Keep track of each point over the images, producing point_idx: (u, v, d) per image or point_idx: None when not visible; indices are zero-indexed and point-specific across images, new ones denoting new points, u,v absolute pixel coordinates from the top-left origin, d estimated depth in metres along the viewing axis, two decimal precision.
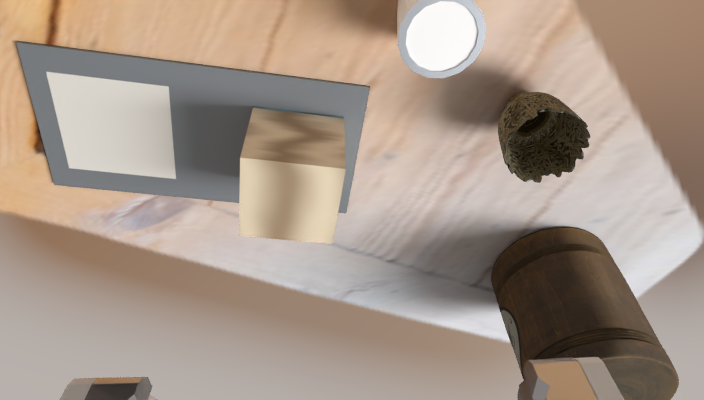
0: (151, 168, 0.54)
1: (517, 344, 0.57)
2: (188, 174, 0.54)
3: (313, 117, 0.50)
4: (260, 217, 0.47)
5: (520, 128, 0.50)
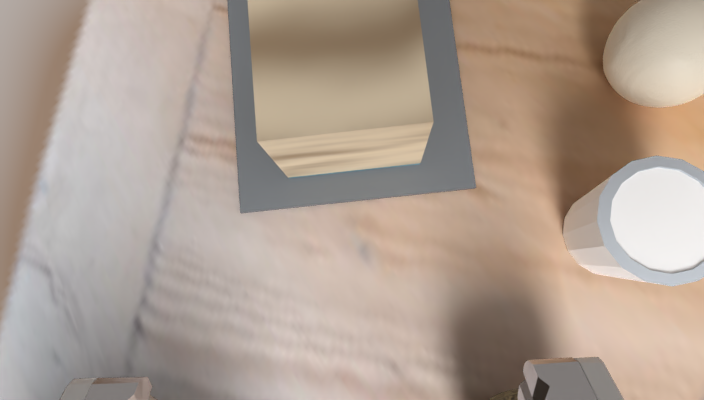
0: None
1: None
2: None
3: None
4: (295, 9, 0.27)
5: None
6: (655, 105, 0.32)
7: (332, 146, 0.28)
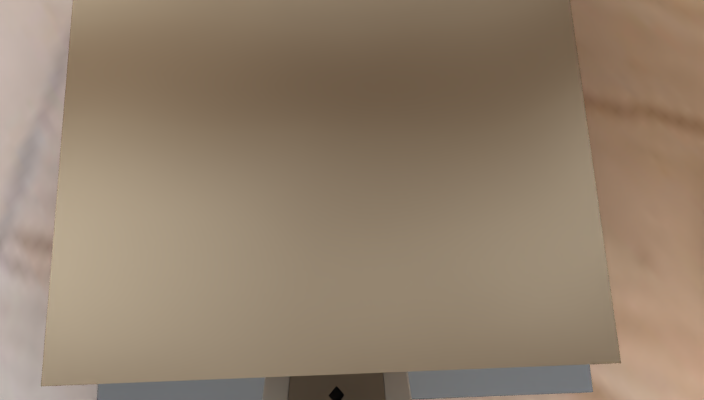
0: None
1: None
2: None
3: None
4: None
5: None
6: None
7: None
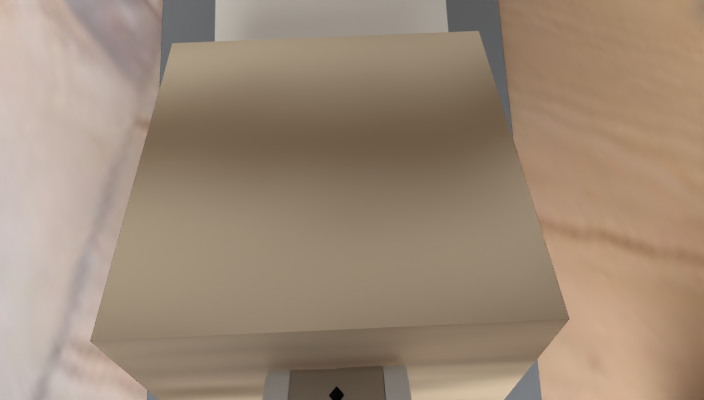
0: (238, 0, 0.24)
1: None
2: None
3: None
4: (255, 84, 0.14)
5: None
6: None
7: None
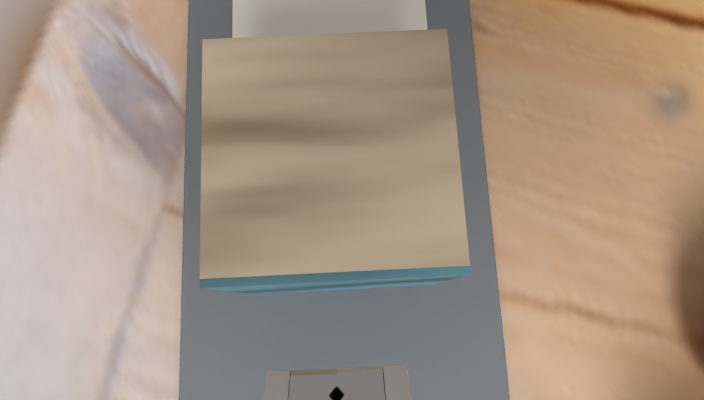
0: None
1: None
2: None
3: None
4: None
5: None
6: None
7: (303, 94, 0.18)
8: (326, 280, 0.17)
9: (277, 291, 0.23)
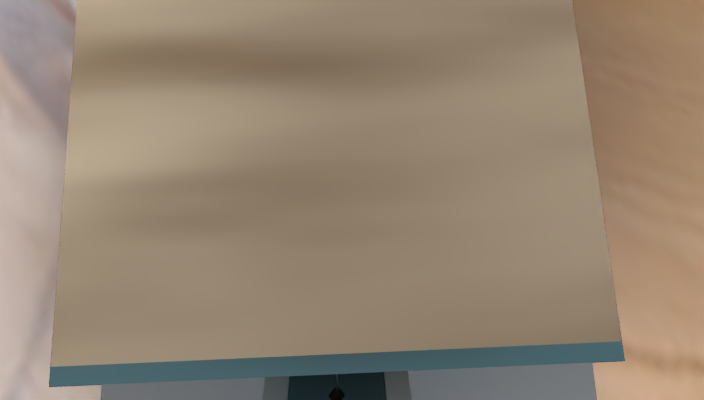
0: None
1: None
2: None
3: None
4: None
5: None
6: None
7: None
8: (317, 372, 0.08)
9: None
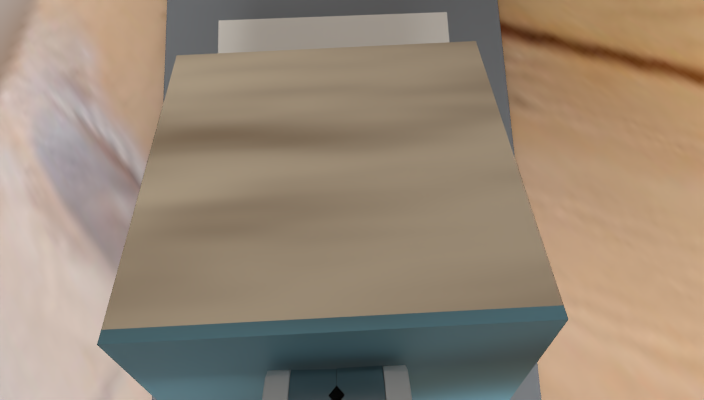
0: None
1: None
2: None
3: None
4: None
5: None
6: None
7: (296, 101, 0.14)
8: (317, 330, 0.10)
9: None
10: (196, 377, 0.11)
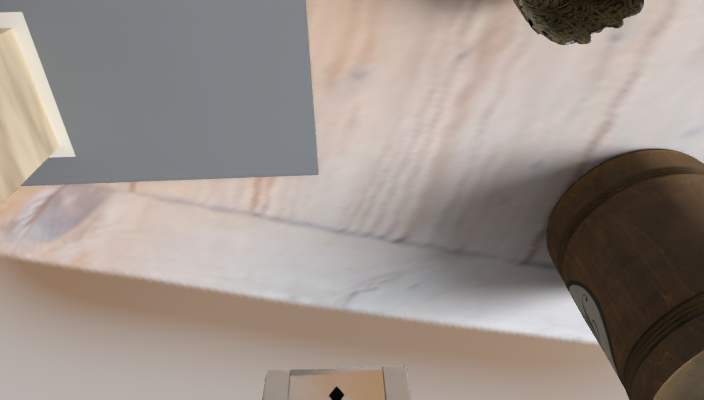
0: None
1: (601, 330, 0.36)
2: (89, 147, 0.39)
3: None
4: None
5: None
6: None
7: None
8: None
9: None
10: None
